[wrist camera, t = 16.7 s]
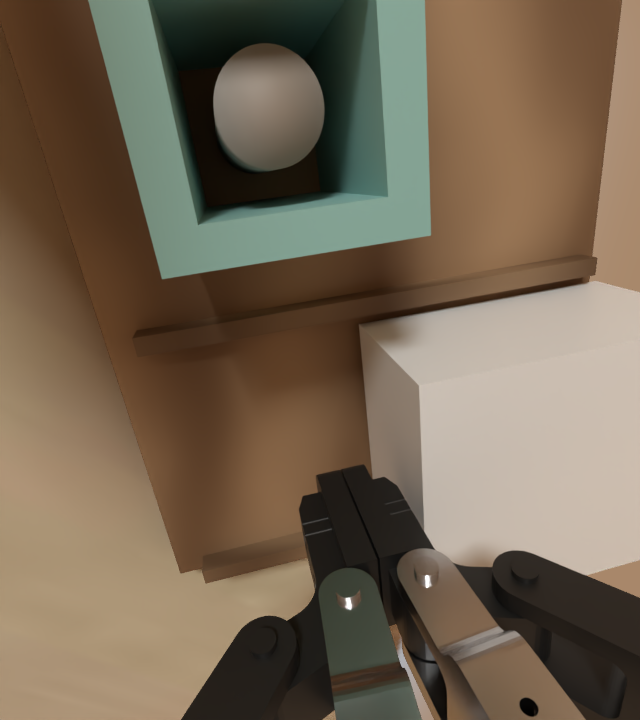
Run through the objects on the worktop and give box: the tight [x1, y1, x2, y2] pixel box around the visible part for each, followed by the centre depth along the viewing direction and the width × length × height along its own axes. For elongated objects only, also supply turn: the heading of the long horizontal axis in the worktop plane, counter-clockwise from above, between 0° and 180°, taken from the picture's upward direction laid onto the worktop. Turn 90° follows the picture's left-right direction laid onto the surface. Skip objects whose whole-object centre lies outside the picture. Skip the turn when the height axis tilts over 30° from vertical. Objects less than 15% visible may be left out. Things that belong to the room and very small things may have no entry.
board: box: [0, 0, 622, 583], centre depth 13 cm, size 17×19×6 cm
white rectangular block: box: [359, 281, 640, 575], centre depth 15 cm, size 9×8×5 cm
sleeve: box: [88, 0, 431, 279], centre depth 10 cm, size 5×5×6 cm
